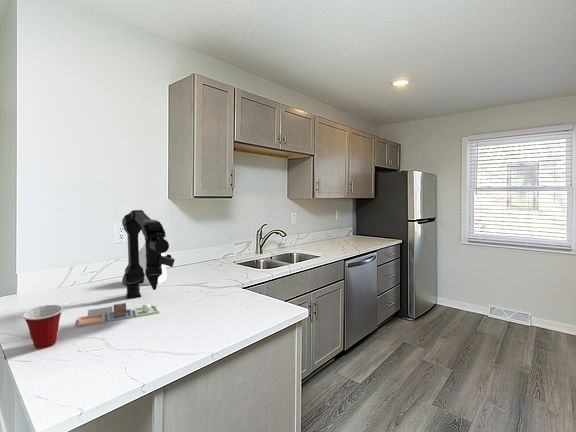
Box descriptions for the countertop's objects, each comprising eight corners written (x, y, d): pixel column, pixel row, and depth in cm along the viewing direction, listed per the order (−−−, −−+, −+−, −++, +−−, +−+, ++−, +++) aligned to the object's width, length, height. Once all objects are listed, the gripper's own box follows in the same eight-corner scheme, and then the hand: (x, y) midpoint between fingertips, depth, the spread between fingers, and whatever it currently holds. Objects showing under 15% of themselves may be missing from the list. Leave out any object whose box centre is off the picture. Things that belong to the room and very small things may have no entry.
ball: (141, 311, 138) (141, 303, 138) (150, 309, 140) (150, 301, 139) (142, 313, 135) (142, 305, 135) (151, 312, 137) (151, 304, 136)
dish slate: (107, 315, 134) (107, 312, 134) (131, 311, 138) (131, 308, 138) (107, 323, 126) (107, 320, 126) (133, 318, 131) (133, 315, 131)
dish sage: (134, 311, 139) (133, 308, 139) (156, 307, 143) (156, 304, 143) (135, 318, 131) (135, 315, 131) (159, 314, 136) (159, 311, 136)
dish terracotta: (78, 320, 129) (78, 317, 129) (104, 315, 133) (104, 313, 133) (77, 328, 121) (77, 325, 121) (104, 323, 126) (104, 320, 126)
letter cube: (113, 315, 133) (113, 304, 133) (125, 313, 135) (125, 302, 135) (114, 319, 129) (113, 307, 129) (126, 316, 131) (126, 305, 131)
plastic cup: (20, 356, 101) (17, 318, 100) (28, 341, 110) (26, 307, 109) (62, 348, 106) (60, 312, 105) (67, 335, 115) (65, 302, 114)
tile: (88, 310, 139) (88, 310, 139) (112, 307, 144) (112, 306, 144) (87, 317, 131) (87, 316, 131) (112, 313, 136) (112, 312, 136)
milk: (158, 284, 180) (157, 238, 178) (138, 284, 180) (136, 238, 178) (166, 278, 192) (165, 235, 190) (147, 278, 192) (146, 235, 190)
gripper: (174, 252, 131) (175, 290, 132) (171, 246, 149) (173, 280, 149) (144, 254, 127) (146, 293, 128) (145, 248, 144) (147, 283, 145)
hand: (154, 287), depth 138 cm, fingers open, 9 cm apart
